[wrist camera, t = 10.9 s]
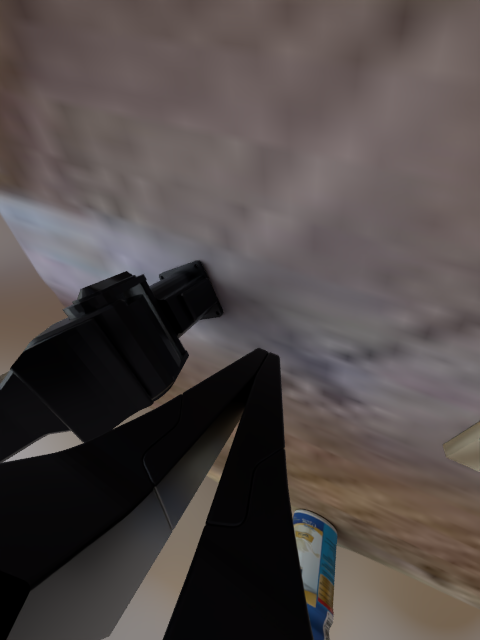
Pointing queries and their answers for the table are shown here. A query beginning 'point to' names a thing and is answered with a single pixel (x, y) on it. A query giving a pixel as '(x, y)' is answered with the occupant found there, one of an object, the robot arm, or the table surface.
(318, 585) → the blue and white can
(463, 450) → the keyhole track
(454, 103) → the table surface
